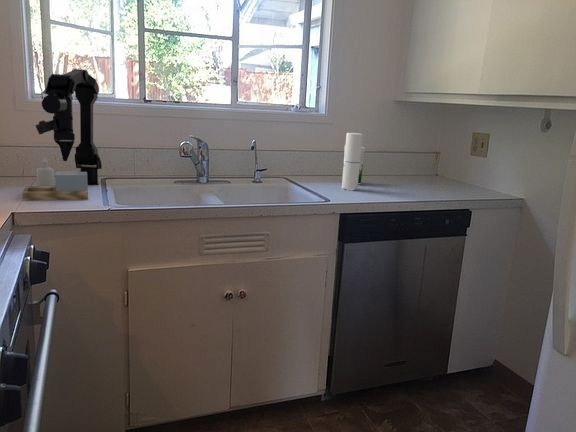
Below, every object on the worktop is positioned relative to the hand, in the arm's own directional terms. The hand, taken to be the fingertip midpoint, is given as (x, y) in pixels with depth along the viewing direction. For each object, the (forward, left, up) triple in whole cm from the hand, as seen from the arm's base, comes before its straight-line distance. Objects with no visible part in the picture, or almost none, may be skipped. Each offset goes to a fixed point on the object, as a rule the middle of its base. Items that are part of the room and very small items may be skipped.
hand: (64, 159), depth 169 cm
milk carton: (-126, -20, -13) cm, 128 cm away
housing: (-2, 0, -11) cm, 11 cm away
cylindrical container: (-117, -6, -13) cm, 118 cm away
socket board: (+3, 0, -13) cm, 13 cm away
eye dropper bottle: (+7, -12, -13) cm, 19 cm away
